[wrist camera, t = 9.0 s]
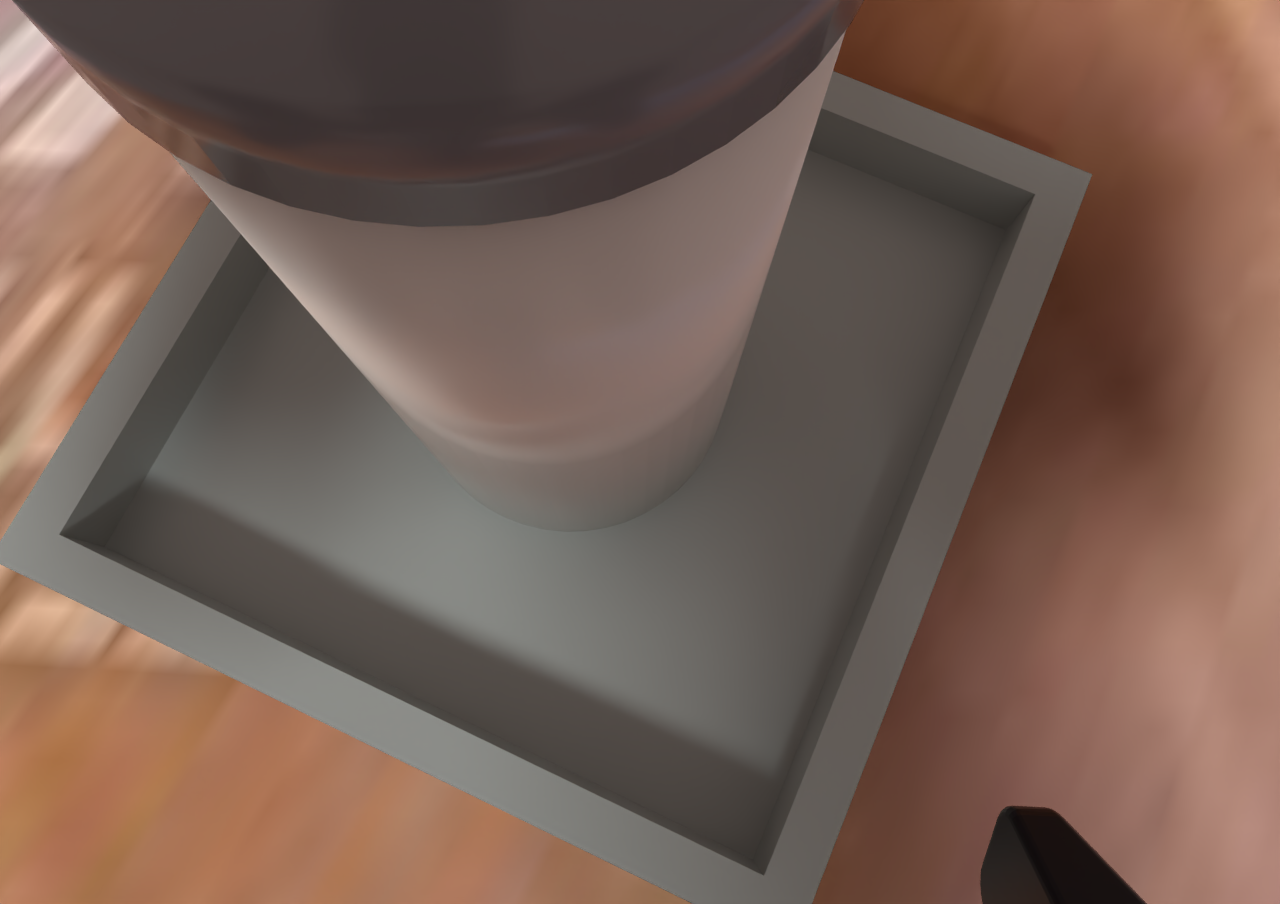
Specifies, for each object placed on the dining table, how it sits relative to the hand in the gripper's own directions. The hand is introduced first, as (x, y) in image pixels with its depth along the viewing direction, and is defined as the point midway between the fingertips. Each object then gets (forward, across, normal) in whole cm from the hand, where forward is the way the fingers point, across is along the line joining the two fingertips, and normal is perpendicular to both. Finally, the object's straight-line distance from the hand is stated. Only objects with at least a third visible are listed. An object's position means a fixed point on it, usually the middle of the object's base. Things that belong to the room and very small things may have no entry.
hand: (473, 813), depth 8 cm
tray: (+11, 0, +2) cm, 11 cm away
